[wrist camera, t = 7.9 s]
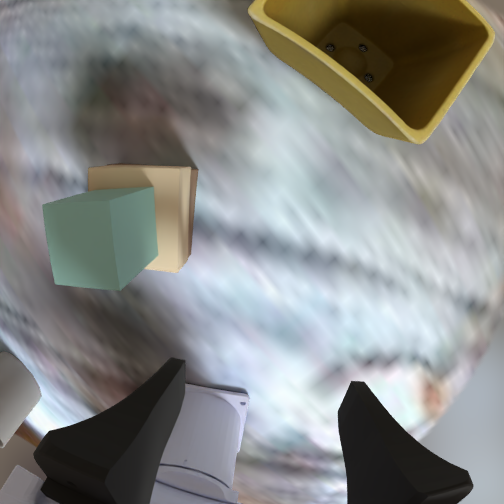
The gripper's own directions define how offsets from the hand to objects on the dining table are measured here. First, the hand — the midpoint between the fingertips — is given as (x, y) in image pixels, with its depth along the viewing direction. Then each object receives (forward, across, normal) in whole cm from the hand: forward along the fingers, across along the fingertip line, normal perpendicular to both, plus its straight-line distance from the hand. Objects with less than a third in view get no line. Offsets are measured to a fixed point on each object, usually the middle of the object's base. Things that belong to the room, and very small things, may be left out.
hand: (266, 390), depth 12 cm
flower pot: (+11, -3, -16) cm, 20 cm away
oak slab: (+9, +9, -5) cm, 13 cm away
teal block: (+6, +9, -5) cm, 12 cm away
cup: (+10, +30, +20) cm, 37 cm away
